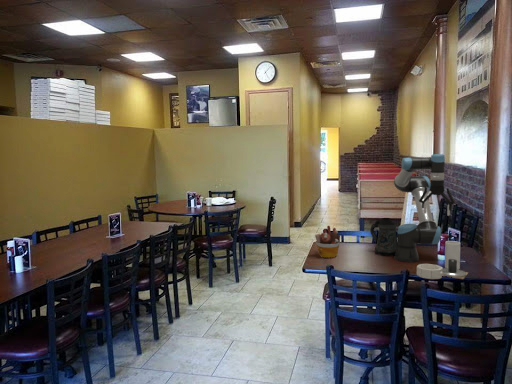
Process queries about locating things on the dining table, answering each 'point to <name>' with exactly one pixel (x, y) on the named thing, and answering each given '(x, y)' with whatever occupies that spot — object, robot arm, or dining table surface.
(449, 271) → the lid
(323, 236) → the bucket of meat
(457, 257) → the cup
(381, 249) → the beer stein
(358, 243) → the dining table surface
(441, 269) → the bowl
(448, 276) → the plate
